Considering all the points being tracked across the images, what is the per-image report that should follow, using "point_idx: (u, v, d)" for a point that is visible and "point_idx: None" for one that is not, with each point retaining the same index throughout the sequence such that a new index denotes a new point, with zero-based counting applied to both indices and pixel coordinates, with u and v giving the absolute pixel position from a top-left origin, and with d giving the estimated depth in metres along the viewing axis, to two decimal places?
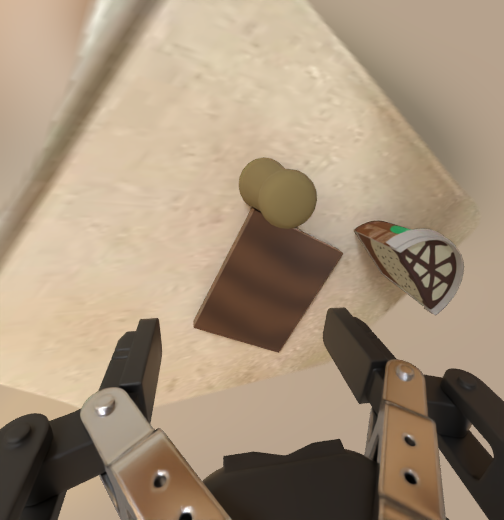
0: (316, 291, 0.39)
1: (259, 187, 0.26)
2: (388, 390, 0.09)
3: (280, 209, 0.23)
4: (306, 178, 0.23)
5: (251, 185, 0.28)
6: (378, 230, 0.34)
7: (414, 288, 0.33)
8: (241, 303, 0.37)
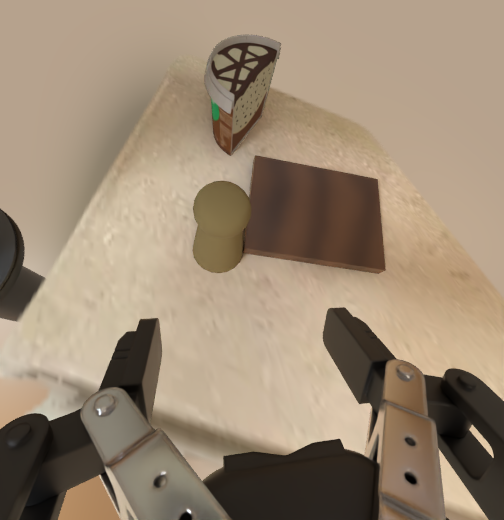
0: (300, 165, 0.38)
1: (221, 242, 0.26)
2: (388, 390, 0.09)
3: (233, 209, 0.23)
4: (197, 197, 0.24)
5: (222, 254, 0.28)
6: (221, 130, 0.35)
7: (263, 73, 0.34)
8: (340, 231, 0.35)
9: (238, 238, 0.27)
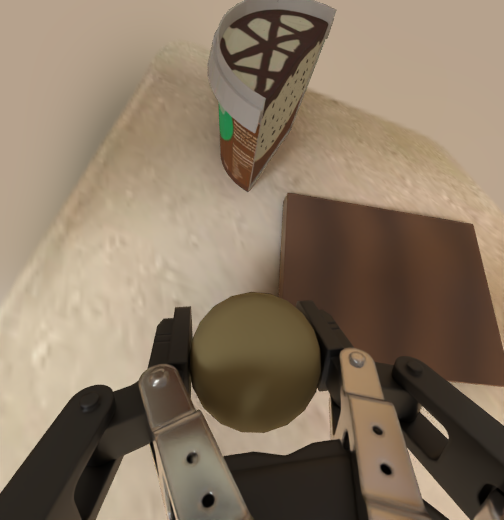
0: (358, 207, 0.24)
1: None
2: (346, 381, 0.09)
3: (287, 381, 0.09)
4: (197, 344, 0.10)
5: None
6: (236, 156, 0.22)
7: (306, 61, 0.20)
8: (432, 318, 0.21)
9: None
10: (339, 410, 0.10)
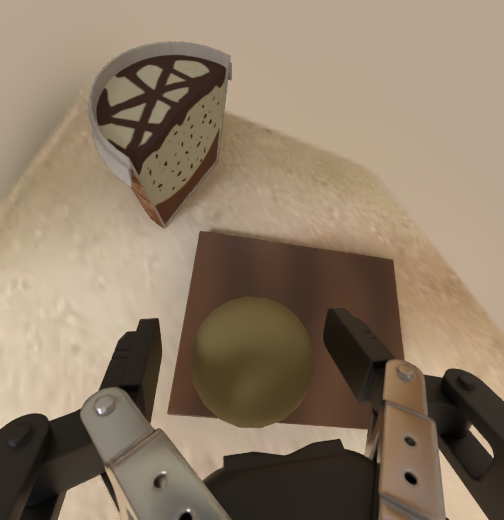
0: (273, 244, 0.24)
1: None
2: (388, 390, 0.09)
3: (282, 380, 0.10)
4: (198, 345, 0.11)
5: None
6: (139, 198, 0.21)
7: (201, 107, 0.20)
8: None
9: None
10: None
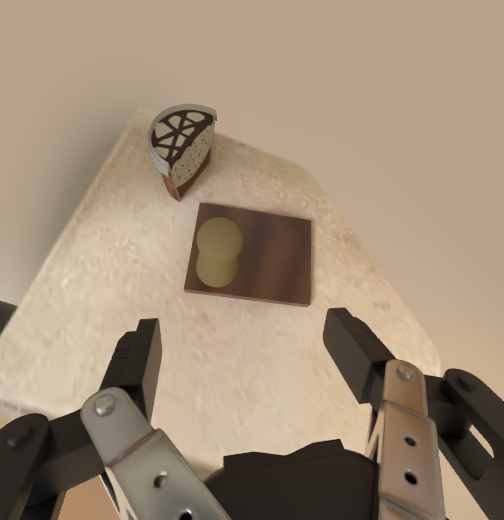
0: (241, 210, 0.43)
1: (219, 265, 0.32)
2: (388, 390, 0.09)
3: (228, 241, 0.29)
4: (199, 231, 0.29)
5: (220, 273, 0.34)
6: (167, 183, 0.40)
7: (200, 136, 0.39)
8: (272, 270, 0.40)
9: (233, 260, 0.33)
10: None
